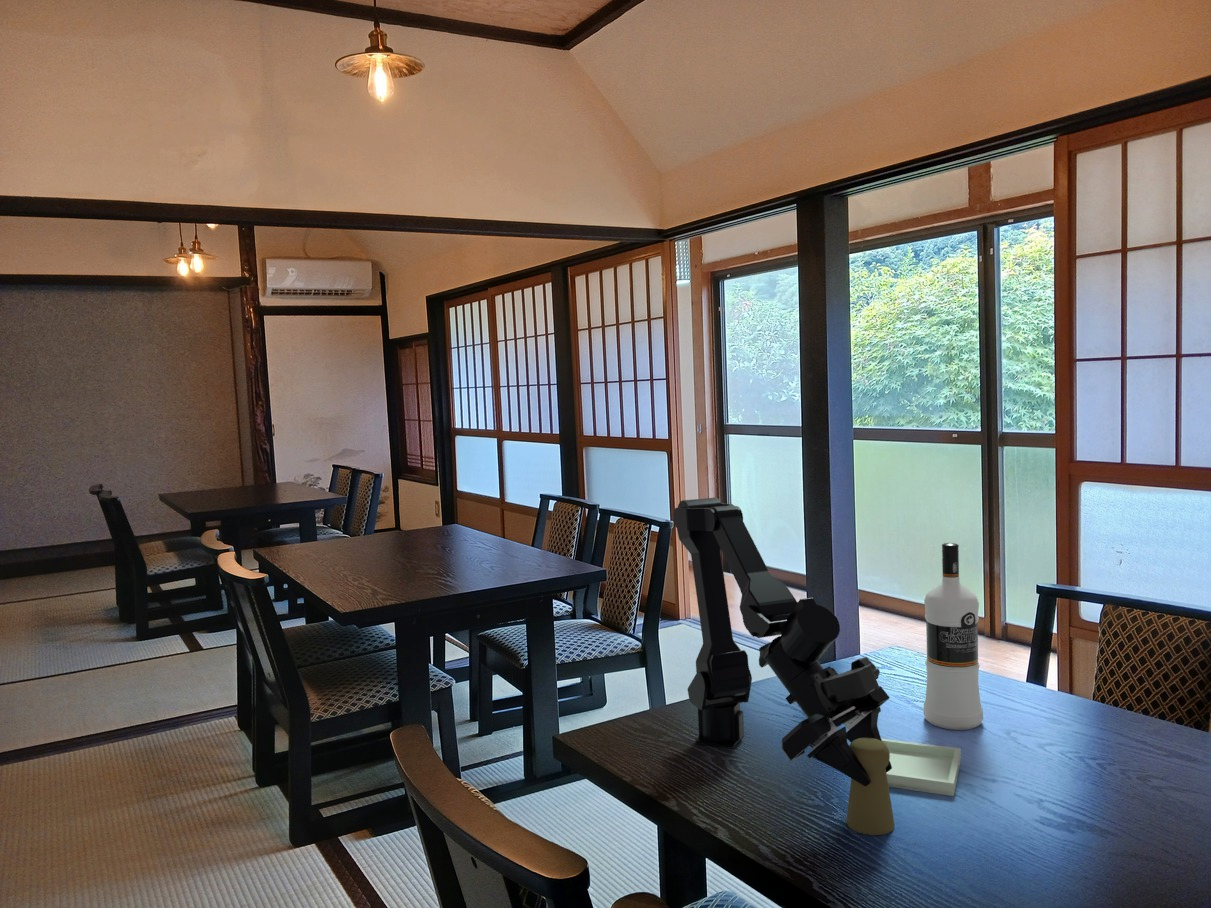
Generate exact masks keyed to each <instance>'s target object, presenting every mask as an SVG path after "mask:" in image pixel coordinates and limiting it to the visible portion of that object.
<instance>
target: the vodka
mask: <svg viewBox="0 0 1211 908" xmlns="http://www.w3.org/2000/svg"><path fill="white" fill-rule="evenodd" d="M941 546H942V547H941V556H942V557H941V558H942V559H941V561H942V562H941V563H942V565H941V566H942V582H941V583H939V584H937V585H936V586H935V587H933V588H931V589H930V590H929V591H927V593H926V594H925V597H924V611H925V614H924V619H925V622H926V628H925V629H926V660H925V666H926V689H925V691H926V692H925V699H924V702H923V716H924V718H925V720H926V721H927V722H928V723H930V724H931V725H933V726H935V727H938V728H941V729H945V730H951V731H966V730H972V729H975V728H977V727H978V726H981V724H982V723H983V720H984V709H983V706H982V703H981V696H980V695H981V694H980V687H979V686H980V683H979V673H980V670H979V669H980V668H981V667H980V666H981V665H980V664H979V628H978V627H979V625H978V624H979V620H980V619H979V618H980V617H979V607H980V606H979V605H980V603H979V599H978V597H977V595H976V594H975V593H974V592H973V591H971V589H969V588H968V587H966V586H965V585H963V584H962V583H961V582H960V570H959V569H960V563H959V559H960V558H959V557H960V555H959V549H960V548H959V544H957V543H954V542H945V543H942V544H941Z"/></svg>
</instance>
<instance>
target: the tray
mask: <svg viewBox="0 0 1211 908" xmlns="http://www.w3.org/2000/svg"><path fill="white" fill-rule="evenodd" d="M881 740H882V742H883V743H885V744H886V746H887V748H888V749H889V753H890V759H889V761H890V763H891V766H892V769H891V770H890V771H888V772H886V774H887V780H888V787H889V788H897V789H901V790H903V789H904V790H908V791H910V790H911V791H917V792H923V793H930V794H936V795H943V796H948V797H949V796H950V797H955V793H956V789H957V788H956V787H957V784H958V777H959V772H960V768H961V761H962V754H961V753H962V751H961V750H962V749H961V748H960V747H953V746H945V745H943V746H942V745H936V744H929V743H920V742H911V741H905V740H895V739H890V738H889V739H888V738H881Z"/></svg>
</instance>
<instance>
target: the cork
mask: <svg viewBox="0 0 1211 908" xmlns="http://www.w3.org/2000/svg"><path fill="white" fill-rule="evenodd" d="M848 745H849V746H850V748H851V749H852V751H853V752H854V754H855V755H856V757H857V758H858V760H859V761H860V763H861V764H862V766H863V767H864V769H865V771H866V772H867V774H868V776H869V778H870V779H871V783H870V784H869V785H867V786H863V785H862V784H860V783H858V782H857V781H855V780H853V779H852V778H850V786H849V787H850V788H849V796H848V803H847V813H846V821H845V822H846V825H847V827H848V828H849V829H851V830H853V831H855V832H856V833H860V834H862V833H863V834H862V835H867V834H868V835H870V836H882V835H886V834H889V833H891V832H893V830H894V829H895V820H894V819H895V818H894V813H893V806H892V800H891V794H890V787H888V780H887V774H886V767H887V766H888V764H889V759H890V753H889V749H888V748H887V746H886V744H885V743H883V742H882V741H880V740H878V739H874V738H858V739H856V740H853V741H852V742H850V744H848Z"/></svg>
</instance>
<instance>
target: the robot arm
mask: <svg viewBox="0 0 1211 908" xmlns="http://www.w3.org/2000/svg"><path fill="white" fill-rule="evenodd" d="M672 516H673V518H672V519H673V523H674V527H675V528H676V530H677V535H678V540H679V541H680V542H681V544H682V545H683V546H684V548H685V549H686V550H687V551H688V553H690V557H691V564H692V571H693V578H694V587H695V594H696V601H697V607H698V614H699V615H698V616H699V622H700V629H701V636H702V645H701V648H700V650H699V652H698V655H697V657H696V659H695V670H696V671H695V672H696V673H695V676H694V677H693V679H692V680H691V682H690V684H689V686H688V687H687V694H688V700H689V701H688V702H690V703H691V704H692V705H693V706H695V707H696V708H697V724H698V726H697V727H698V735H697V737H696V738H695V739H694V740H695V741H694V742H695V744H701V745H706V746H714V747H720V748H728V749H733V748H735V747H736V745H738V743H739V742H740V741H741V739H742V738H743V737H744V735H745V725H744V723H745V721H744V720H745V717H744V711H743V710H741V704H742V703H749V699H750V694H751V688H752V681H753V677H752V673H751V670H750V666H749V657H748V656H749V655H748V654H747V652H746V650H744V649H743V650H741V648H740V647H739V645H738V644H737V643H736V642H735V641H734V637H733V631H732V623H731V622H732V621H731V616H730V609H729V602H728V593H727V588H726V581H725V573H724V568H723V560H722V554H723V556H724V559H725V561H726V563H727V564H728V567H729V570H730V571H731V573H732V575H733V577H734V579H735V581H736V583H737V586H738V587H739V591H740V594H741V599H740V603H739V611H740V614H741V616H742V622H743V625H744V627H745V629H746V630H747V631H748V633H749V635H750V636H751V637H753V638H754V637H755V638H757V639H762V638H768V637H769V638H770V637H775V636H776V637H775V638H773V639H772V640H771V642H768V643H766V644H764V645H762V646H760V647H759V649H758V651H759V657H758V666H759V668H764V667H765V666H767V665H768V666H769V667H770V669H771V670H772V672H773V673H774V675H775V676H777V678H778V680H779V681H780V683H781V684H782V685H783V686H784V688H785V689H786V690H787V692H788V693H789V695H787V696H786V698H785V700H786V701H787V703H788V704H789V705H793V704H794V703H796V704H797V705H798V707H799V708H800V710H801V711H802V712H803V714H804V715H805V716H806V718H805V719H803V720H801V721H800V722H799V723H798V724H797V725H795V727H794V728H793V729H791V730H790V731H789V732H787V734H786V735H784V736H783V737H782V738H781V750H782V751H783V752H784V754H785V755H786V756H787V758H788V760H789V761H790V762H792V761H793V760H795V759H797V758H800V757H801V756H803V755H804V754H805V750H806V749H808V748H809V747H810V749H811V751H810V752H809V753H808V754H807V755H806V757H807V758H808V759H812V758H813V759H815V760H817V761H819V762H821V763H823V764H825V765H827V766H829V767H831V768H833V769H835V770H836V771H838V772H839V773H842V774H843V775H845V776H847V777H848V778H850V779H851V778H852V779H853V780H855V781H857V782H858V783H860V784H862V785H863V786H867V785H869V784H870V783H871V779H870V778H869V776H868V774H867V772H866V771H865V769H864V767H863V766H862V764H861V763H860V761H859V760H858V758H857V757H856V755H855V754H854V752H853V751H852V749H851V748H850V746H849V745H850V744H849V742H850V743H851V742H852V741H853V740H856V739H858V738H874V739H878V740H880V741H882V740H881V739H882V737H881V735H880V731H879V727H878V721H879V715H880V713H881V711H882V709H881V706H882V705H883V704H885V703H886V702H887V701H888V700H889V699H890V696H889V695H888V694H887V692H886V691H885V690H884V689H883V687H882V686H880V685H879V682H878V681H877V680H878V678H879V676H880V673H881V672H880V669H879V668H878V667H876V665H875V664H874V663H873V662H872V661H871V660H870V659H869V658H868V657H867V656H863V657H861V658H858V659H856V660H854V661H852V662H851V665H850V669H849V670H848V669H847V670H846V671H844V672H841V673H838V671H837V670H836V669H835V668H834V667H832V666H831V665H830V666H828V667H825V668H824V667H823V666H822V664H821V663H820V661H818V659H820V658H821V657H822V655H823V654H824V653H825V652H826V651H827V650H828V648H829V647H831V645H832V644H833V643H834V642H835V641H836V639H837V638H838V636H839V635H840V631H841V626H840V622H839V619H838V618H837V616H836V615H834V614H833V612H832V611H830V610H829V609H828V608H826V607H825V606H822V605H820V604H818V603H816V600H815V598H814V597H805V598H800V599H799V600H797V599H796V597H794V595H793V593H792V592H791V590H790V589H789V588H788V586H787V585H786V584H785V583H783V582H782V581H780V580H779V579H778V578H776V577H773V575H772V574H771V572H770V571H769V569H768V567H767V564H766V563H765V561H764V559H763V557H762V555H761V553H760V552H759V550H758V547H757V545H756V544H755V542H754V540H753V537H752V536H751V534H750V531H749V530H748V528H747V527H746V524H745V522H744V515H743V511H742V509H741V508H740V507H739V506H737V505H734V504H733V503H724V502H721V500H720V499H719V498H718V497H706V498H705V497H704V498H695V499H685V500H684V499H683V500H680V501H679V502H678V505H677V507H675V508H674V509H673V513H672ZM721 552H722V553H721ZM842 725H844V726H843V727H841V728H839V727H840V726H842ZM838 728H839V729H838ZM848 741H849V742H848ZM891 769H892V766H891V763H890V761H889V764H888V766H887V767H886V772H888V771H890V770H891Z"/></svg>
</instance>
